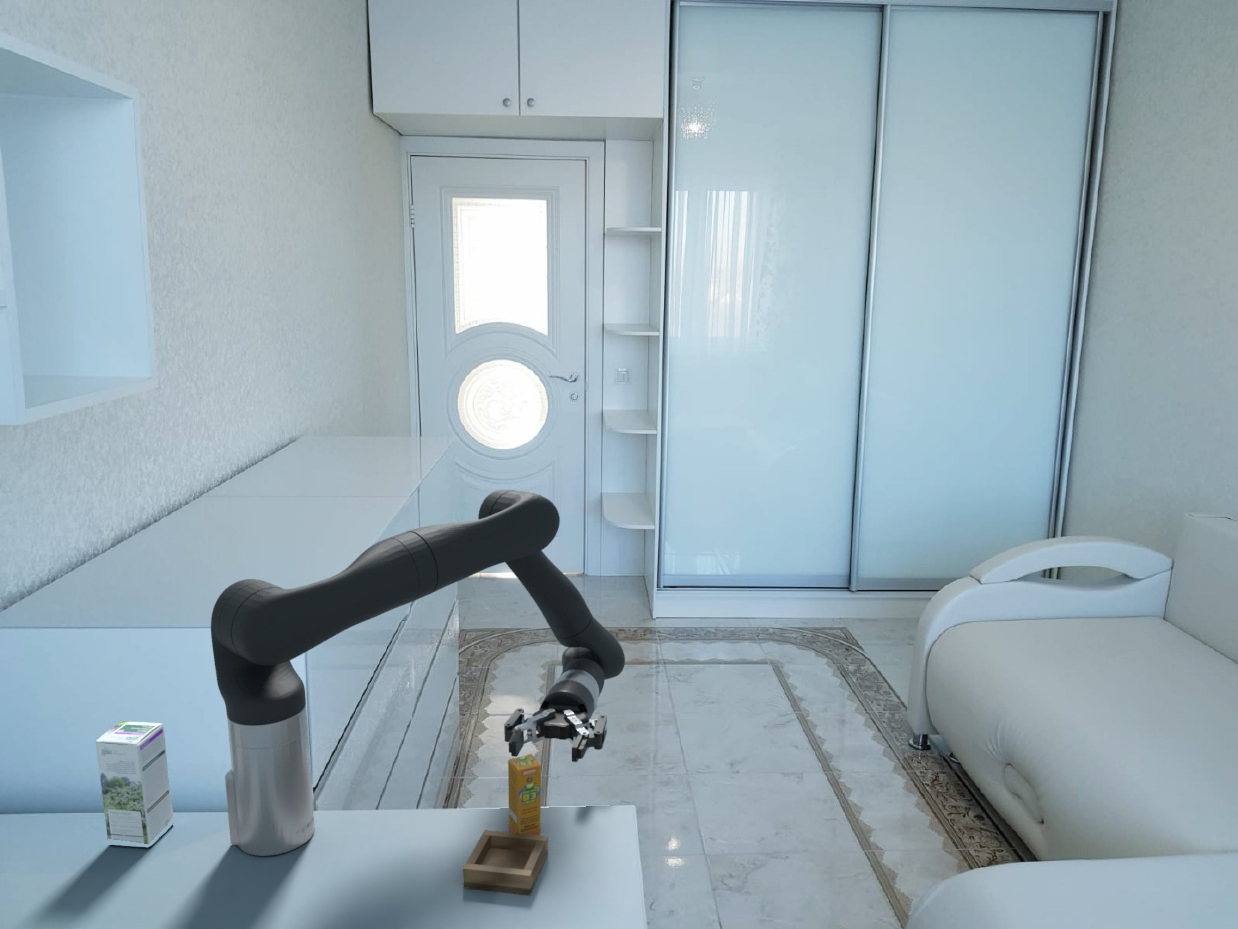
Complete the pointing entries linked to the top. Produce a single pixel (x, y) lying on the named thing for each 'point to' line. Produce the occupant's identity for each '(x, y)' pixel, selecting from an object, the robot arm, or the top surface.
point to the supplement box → (524, 795)
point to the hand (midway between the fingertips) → (543, 753)
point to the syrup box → (134, 781)
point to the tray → (506, 862)
